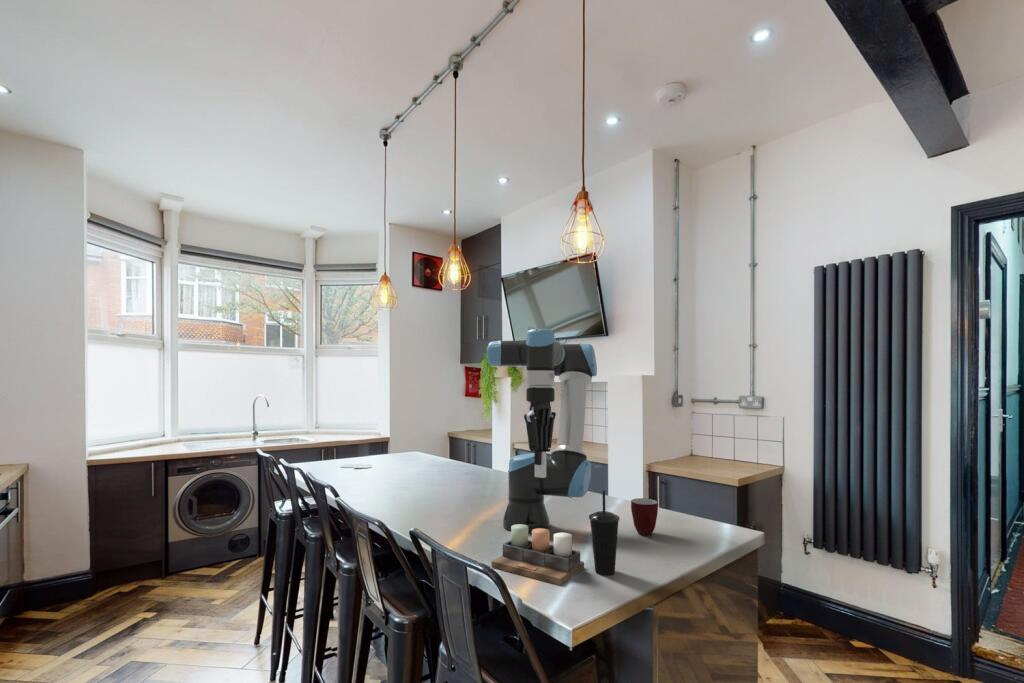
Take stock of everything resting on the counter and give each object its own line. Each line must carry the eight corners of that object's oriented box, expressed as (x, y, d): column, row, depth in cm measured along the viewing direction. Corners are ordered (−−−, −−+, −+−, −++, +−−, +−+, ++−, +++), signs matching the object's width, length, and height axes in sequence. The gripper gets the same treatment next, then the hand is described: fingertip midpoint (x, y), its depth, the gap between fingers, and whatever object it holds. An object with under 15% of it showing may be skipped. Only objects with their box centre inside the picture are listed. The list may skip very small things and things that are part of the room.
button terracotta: (528, 551, 130) (528, 531, 130) (537, 546, 134) (537, 527, 134) (543, 555, 127) (543, 534, 128) (552, 549, 131) (552, 530, 132)
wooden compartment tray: (491, 567, 129) (491, 549, 130) (518, 552, 140) (519, 536, 140) (560, 585, 118) (559, 565, 119) (584, 567, 129) (584, 549, 129)
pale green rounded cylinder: (507, 546, 134) (507, 527, 134) (517, 542, 137) (517, 523, 138) (522, 550, 131) (522, 530, 131) (531, 545, 135) (531, 526, 135)
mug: (668, 539, 152) (667, 505, 152) (644, 541, 149) (643, 507, 150) (649, 529, 162) (648, 497, 162) (626, 531, 159) (626, 499, 160)
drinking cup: (586, 566, 130) (585, 487, 131) (615, 565, 130) (614, 487, 132) (593, 578, 122) (592, 494, 124) (624, 577, 123) (623, 494, 124)
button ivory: (550, 556, 126) (550, 536, 127) (559, 551, 130) (559, 531, 131) (566, 560, 124) (566, 539, 124) (575, 554, 128) (574, 534, 128)
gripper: (540, 387, 126) (540, 482, 125) (564, 386, 137) (564, 474, 135) (515, 386, 131) (514, 479, 129) (540, 386, 141) (540, 471, 140)
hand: (540, 476), depth 132 cm, fingers closed
